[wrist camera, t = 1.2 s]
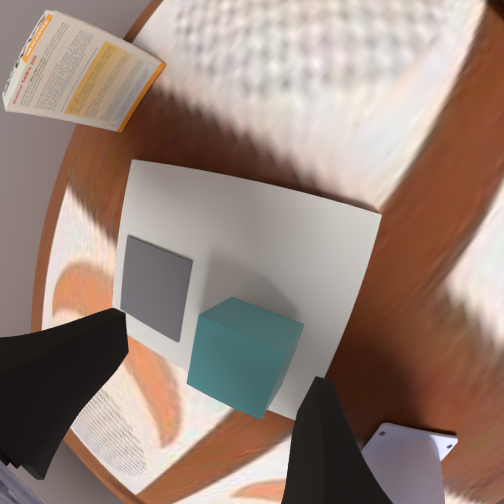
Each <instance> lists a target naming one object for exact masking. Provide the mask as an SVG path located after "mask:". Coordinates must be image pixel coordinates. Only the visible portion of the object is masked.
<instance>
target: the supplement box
mask: <svg viewBox="0 0 504 504" xmlns="http://www.w3.org/2000/svg"><path fill="white" fill-rule="evenodd" d="M164 67H165V63H164V62H162V61H161V60H159V59H157V58H155V57H154V56H152V55H150V54H149V53H147V52H145V51H143V50H142V49H140V48H138V47H136V46H134V45H132V44H130V43H128V42H126V41H125V40H123V39H120V38H119V37H116V36H114V35H113V34H111V33H109V32H106V31H104V30H102V29H100V28H98V27H96V26H94V25H91V24H89V23H87V22H84V21H82V20H80V19H77V18H75V17H73V16H70V15H68V14H65V13H63V12H60V11H48V10H46V11H45V13H44V14H43V15H42V17H41V19H40V20H39V22H38V23H37V25H36V27H35V28H34V30H33V32H32V33H31V35H30V37H29V39H28V40H27V42H26V44H25V46H24V48H23V50H22V51H21V54H20V55H19V57H18V59H17V61H16V63H15V66H14V68H13V70H12V72H11V74H10V76H9V79H8V81H7V83H6V86H5V89H4V91H3V102H4V106H5V110H6V111H9V112H19V113H25V114H31V115H38V116H43V117H49V118H56V119H60V120H65V121H71V122H76V123H80V124H85V125H89V126H94V127H98V128H103V129H107V130H111V131H116V132H121V133H122V132H123V130H124V128H125V126H126V124H127V123H128V121H129V119H130V118H131V116H132V114H133V112H134V111H135V110H136V108H137V106H138V105H139V103H140V101H141V100H142V98H143V97H144V95H145V94H146V92H147V91H148V89H149V88H150V86H151V85H152V83H153V82H154V80H155V79H156V78H157V76H158V75H159V73H160V72H161V71H162V69H163V68H164Z"/></svg>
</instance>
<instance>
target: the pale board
mask: <svg viewBox="0 0 504 504" xmlns="http://www.w3.org/2000/svg"><path fill="white" fill-rule="evenodd" d="M381 216H382V215H381V214H377V213H374V212H371V211H368V210H364V209H361V208H358V207H354V206H351V205H347V204H344V203H340V202H337V201H333V200H329V199H326V198H322V197H318V196H315V195H311V194H307V193H303V192H299V191H295V190H291V189H287V188H283V187H279V186H274V185H270V184H266V183H261V182H257V181H252V180H248V179H243V178H238V177H233V176H228V175H223V174H218V173H213V172H208V171H203V170H197V169H191V168H186V167H180V166H174V165H168V164H161V163H155V162H148V161H141V160H134V159H132V162H131V167H130V172H129V176H128V181H127V186H126V192H125V197H124V203H123V209H122V215H121V222H120V229H119V236H118V244H117V253H116V262H115V273H114V287H113V304H112V308H116V309H118V310H120V311H123V310H121V309H120V303H121V288H122V277H123V266H124V257H125V249H126V241H127V236H131V237H134V238H136V239H139V240H141V241H144V242H146V243H149V244H151V245H154V246H156V247H159V248H161V249H164V250H166V251H169V252H171V253H174V254H176V255H179V256H182V257H184V258H187V259H189V260H192V261H193V265H192V270H191V276H190V281H189V287H188V293H187V299H186V305H185V311H184V317H183V323H182V330H181V336H180V342H178V343H177V342H175V341H173V340H172V339H170V338H168V337H166V336H164V335H163V334H161V333H159V332H157V331H156V330H154V329H152V328H151V327H149V326H147V325H146V324H144V323H142V322H141V321H139V320H137V319H136V318H134V317H132V316H131V315H129V314H128V313H126V312H125V313H126V326H127V334H128V335H129V336H131V337H132V338H134V339H135V340H137V341H138V342H140V343H141V344H143V345H145V346H146V347H148V348H149V349H151V350H153V351H154V352H156V353H157V354H159V355H161V356H162V357H164V358H166V359H168V360H169V361H171V362H173V363H174V364H176V365H178V366H180V367H181V368H183V369H185V370H187V371H189V366H190V360H191V354H192V348H193V343H194V337H195V331H196V326H197V320H198V315H199V314H200V313H202V312H204V311H206V310H208V309H210V308H212V307H213V306H215V305H217V304H219V303H221V302H223V301H225V300H226V299H228V298H230V297H235V298H237V299H240V300H242V301H245V302H247V303H250V304H252V305H255V306H258V307H260V308H263V309H265V310H268V311H271V312H273V313H276V314H279V315H281V316H284V317H287V318H289V319H292V320H295V321H298V322H300V323H303V324H304V327H303V330H302V332H301V335H300V338H299V341H298V344H297V346H296V349H295V352H294V355H293V357H292V360H291V363H290V365H289V368H288V371H287V373H286V376H285V378H284V381H283V383H282V386H281V388H280V389H279V391H278V393H277V394H276V396H275V398H274V399H273V401H272V403H271V404H270V406H269V407H268V410H270V411H272V412H275V413H277V414H280V415H282V416H285V417H288V418H290V419H293V420H295V419H296V415H297V411H298V409H299V407H300V405H301V403H302V401H303V400H304V398H305V396H306V394H307V392H308V390H309V388H310V386H311V384H312V382H313V380H314V378H315V376H318V377H322V378H324V377H325V375H326V372H327V370H328V368H329V366H330V364H331V361H332V359H333V357H334V354H335V352H336V350H337V347H338V345H339V342H340V340H341V338H342V335H343V333H344V330H345V328H346V325H347V322H348V320H349V317H350V315H351V312H352V309H353V306H354V304H355V301H356V298H357V295H358V292H359V290H360V287H361V284H362V281H363V278H364V275H365V272H366V268H367V265H368V262H369V259H370V256H371V252H372V249H373V245H374V242H375V238H376V235H377V231H378V228H379V224H380V220H381ZM123 312H124V311H123Z"/></svg>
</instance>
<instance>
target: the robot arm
mask: <svg viewBox="0 0 504 504" xmlns="http://www.w3.org/2000/svg"><path fill="white" fill-rule="evenodd" d="M128 352H129V350H128V339H127V326H126V313H125V312H123V311H120V310H118V309H116V308H110V309H107V310H104V311H101V312H98V313H95V314H92V315H89V316H86V317H84V318H81V319H78V320H75V321H72V322H69V323H66V324H63V325H60V326H56V327H53V328H50V329H46V330H43V331H39V332H35V333H30V334H25V335H20V336H13V337H2V338H0V504H23V503H24V504H46V503H45V502H44V501H43V500H42V499H41V498H39V497H38V496H37V495H36V494H35V493H33V492H32V491H31V490H30V489H29V488H28V487H27V486H26V485H25V484H24V483H23V482H22V481H20V479H18V478H17V477H16V476H15V475H14V474H13V473H12V472H11V471H10V470H9V468H8V467H7V465H8V464H9V463H11V464H12V465H13V466H14V467H15V468H16V469H17V468H19V466H20V465H21V466H22V467H23V468H24V469H25V470H27V471H28V472H29V473H30V474H31V475H32V476H33V477H34V478H35V479H38V480H43V479H44V478H45V475H46V473H47V470H48V468H49V465H50V463H51V461H52V458H53V456H54V454H55V452H56V451H57V449H58V447H59V445H60V443H61V441H62V439H63V438H64V436H65V434H66V433H67V431H68V429H69V428H70V426H71V425H72V423H73V422H74V420H75V419H76V417H77V416H78V414H79V413H80V411H81V410H82V409H83V408H84V406H85V405H86V404H87V403H88V402H89V401H90V400H91V398H92V397H93V396H94V395H95V394H96V393H97V392H98V391H99V390H100V388H101V387H102V386H103V385H104V384H105V383H106V382H107V381H108V380H109V378H110V377H111V376H112V375H113V374H114V373H115V372H116V370H117V369H118V367H119V366H120V365H121V363H122V362H123V360H124V358H125V357H126V355H127V354H128ZM380 432H384V433H380ZM457 442H458V437H457V436H453V435H446V434H440V433H434V432H429V431H424V430H419V429H414V428H409V427H405V426H400V425H396V424H392V423H383V424H381V425H380V426H379V428H378V429H377V431H376V432H375V433H374V435H373V436H372V437H371V439H370V440H369V442H368V443H367V444H366V446H365V447H364V448H363V449H362V451H360V449H359V447H358V445H357V443H356V440H355V438H354V436H353V434H352V431H351V429H350V426H349V424H348V421H347V419H346V416H345V413H344V411H343V408H342V405H341V402H340V399H339V397H338V394H337V391H336V387H335V384H334V382H333V380H332V379H327V378H322V377H318V376H315V378H314V380H313V382H312V384H311V386H310V388H309V390H308V392H307V394H306V396H305V398H304V400H303V401H302V403H301V405H300V407H299V409H298V411H297V415H296V419H295V424H294V428H293V432H292V438H291V447H290V455H289V463H288V471H287V478H286V485H285V490H284V495H283V499H282V502H281V504H445V498H444V487H443V477H442V469H441V460H442V459H443V458H444V457H445V456H446V455H447V454H448V453H449V452H450V450H451V449H452V448H453V447H454V446H455V444H456V443H457ZM450 444H451V445H450ZM448 445H449V446H448ZM8 489H9V490H10V491H11V492H12V493H13V494H14V495H15V496H16V497H17V498H18V499H19V500H20V501H22V502H23V503H21V502H20V501H19V500H17V499H16V498H15V497H14V496H12V495H11V494H10V493H9V492H8Z"/></svg>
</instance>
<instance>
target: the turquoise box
mask: <svg viewBox="0 0 504 504" xmlns="http://www.w3.org/2000/svg"><path fill="white" fill-rule="evenodd" d="M303 327H304V324H303V323H300V322H298V321H295V320H292V319H289V318H287V317H284V316H281V315H279V314H276V313H273V312H271V311H268V310H265V309H263V308H260V307H258V306H255V305H252V304H250V303H247V302H245V301H242V300H240V299H237V298H235V297H230V298H228V299H226V300H225V301H223V302H221V303H219V304H217V305H215V306H213V307H212V308H210V309H208V310H206V311H204V312H202V313H200V314H199V315H198V320H197V326H196V331H195V337H194V343H193V348H192V354H191V360H190V366H189V372H188V379H187V384H188V385H190V386H192V387H194V388H195V389H197V390H199V391H201V392H203V393H205V394H207V395H208V396H210V397H212V398H214V399H216V400H218V401H220V402H222V403H224V404H226V405H228V406H230V407H233V408H235V409H237V410H239V411H241V412H243V413H245V414H248V415H250V416H252V417H254V418H257V419H259V420H261V418H262V417H263V415H264V414H265V412H266V411H267V409H268V407H269V406H270V404H271V403H272V401H273V399H274V398H275V396H276V394H277V393H278V391H279V389H280V388H281V386H282V383H283V381H284V378H285V376H286V373H287V371H288V368H289V365H290V363H291V360H292V357H293V355H294V352H295V349H296V346H297V344H298V341H299V338H300V335H301V332H302V330H303Z"/></svg>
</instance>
